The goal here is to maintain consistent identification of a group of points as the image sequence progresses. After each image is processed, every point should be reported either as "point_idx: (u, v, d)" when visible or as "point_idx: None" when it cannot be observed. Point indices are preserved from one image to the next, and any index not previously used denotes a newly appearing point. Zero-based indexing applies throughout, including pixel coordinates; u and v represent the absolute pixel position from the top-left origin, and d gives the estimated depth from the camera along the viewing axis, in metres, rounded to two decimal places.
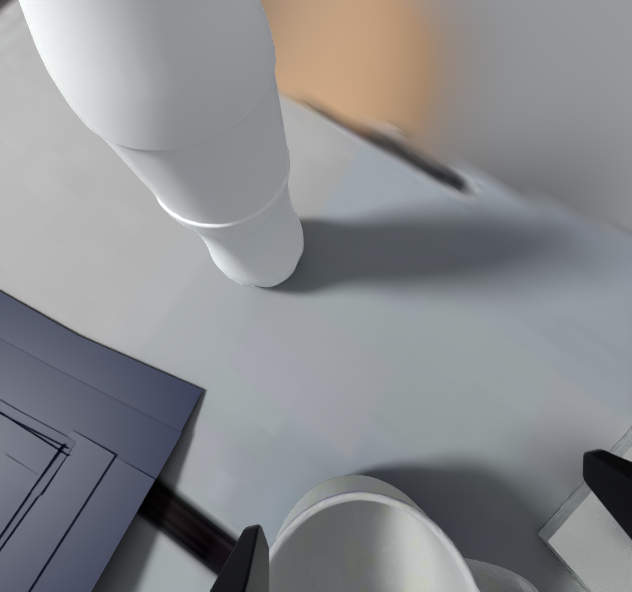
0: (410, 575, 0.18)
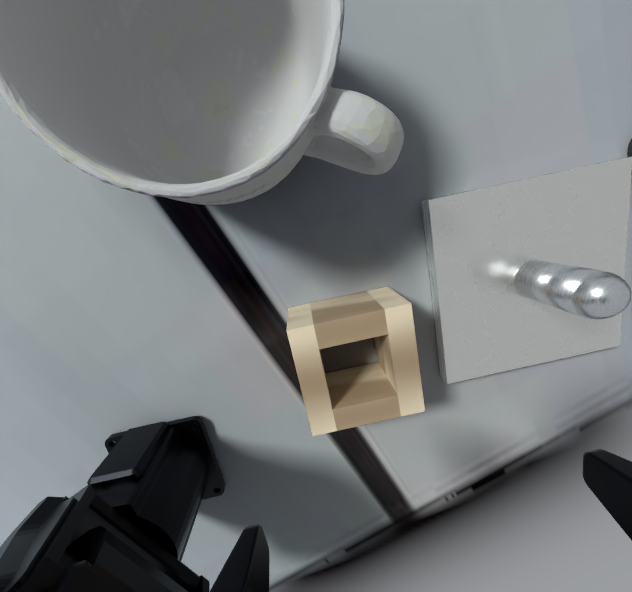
0: (271, 146, 0.15)
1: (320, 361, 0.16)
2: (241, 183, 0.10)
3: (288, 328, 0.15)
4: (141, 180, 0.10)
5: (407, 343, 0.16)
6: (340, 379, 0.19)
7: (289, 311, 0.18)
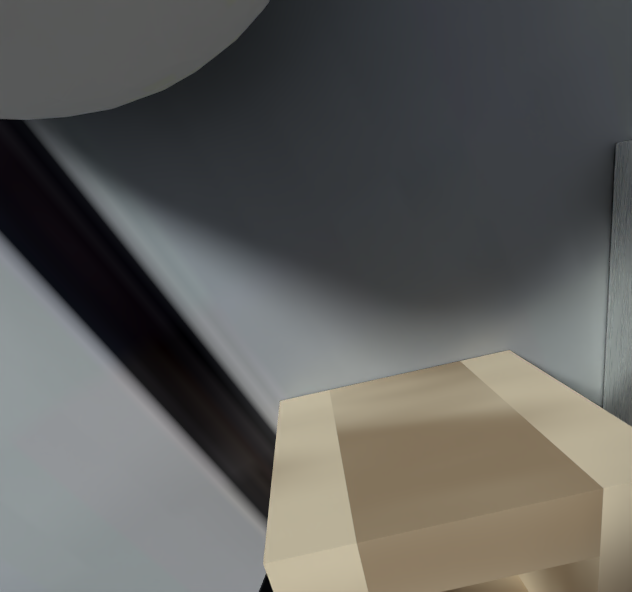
0: None
1: None
2: None
3: (271, 545, 0.05)
4: None
5: None
6: None
7: (281, 420, 0.07)
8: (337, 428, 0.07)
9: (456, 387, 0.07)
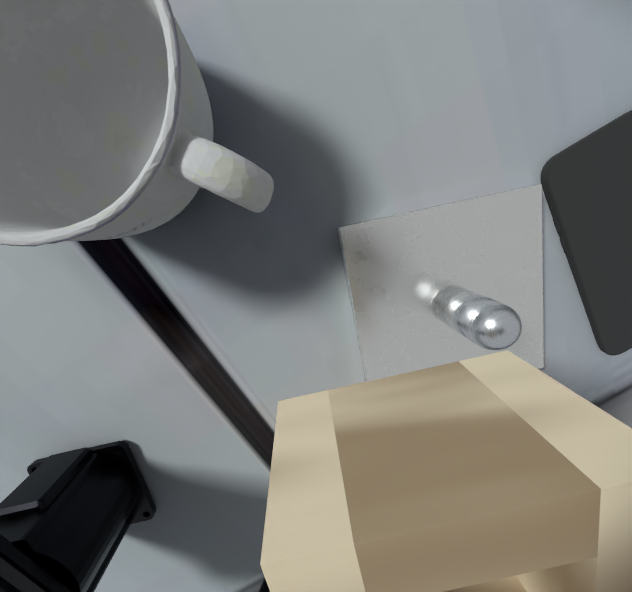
0: None
1: None
2: (89, 231, 0.10)
3: (268, 546, 0.05)
4: None
5: None
6: None
7: (279, 420, 0.07)
8: (335, 428, 0.07)
9: (454, 387, 0.07)
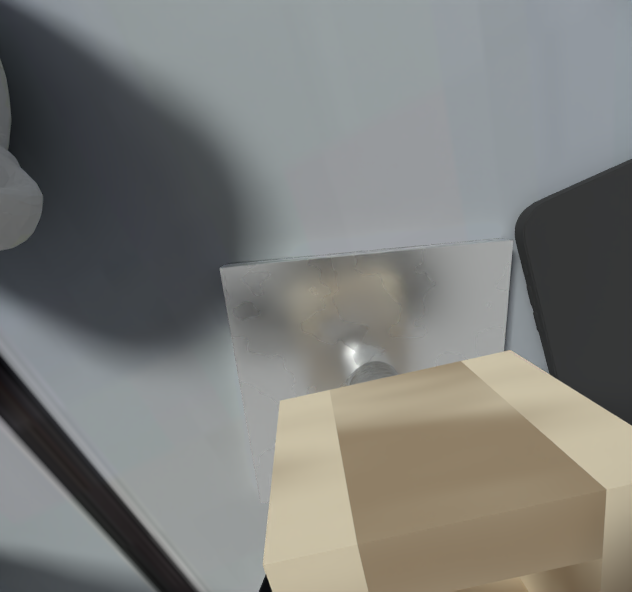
0: None
1: None
2: None
3: (270, 546, 0.05)
4: None
5: None
6: None
7: (281, 420, 0.07)
8: (337, 428, 0.07)
9: (457, 387, 0.07)
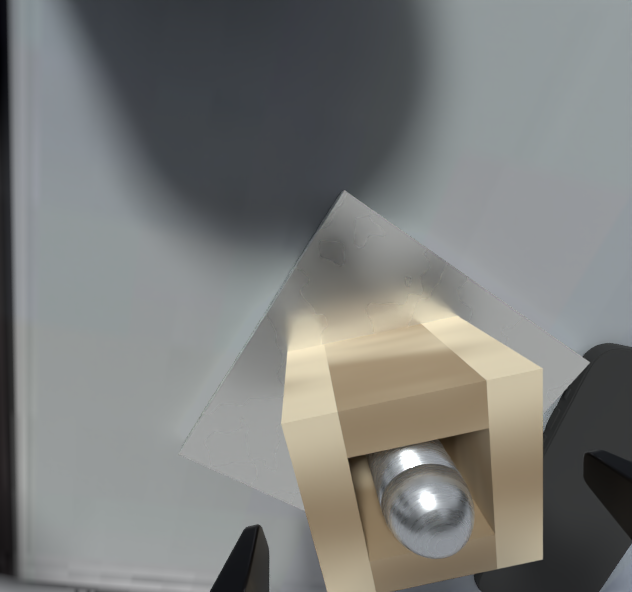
0: None
1: (349, 479, 0.08)
2: None
3: (285, 416, 0.07)
4: None
5: (525, 444, 0.08)
6: None
7: (289, 361, 0.10)
8: (328, 363, 0.10)
9: (414, 338, 0.10)
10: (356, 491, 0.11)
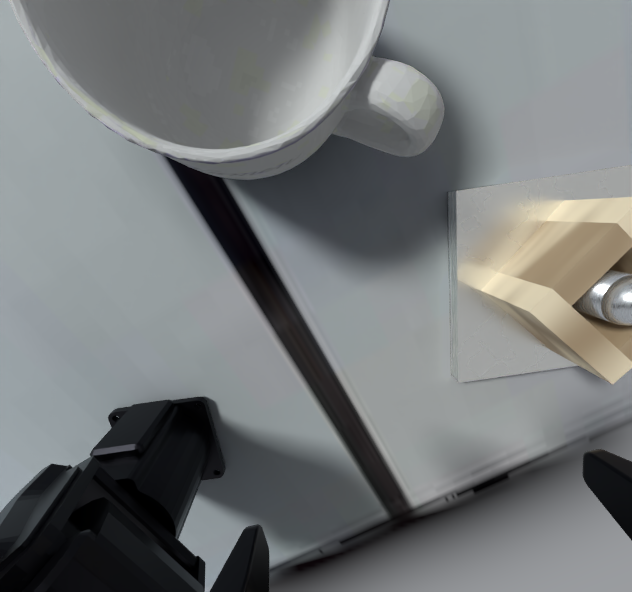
0: (298, 123, 0.15)
1: (579, 315, 0.14)
2: (271, 152, 0.09)
3: (527, 308, 0.14)
4: (167, 142, 0.09)
5: None
6: None
7: (490, 293, 0.17)
8: (516, 277, 0.16)
9: (551, 231, 0.16)
10: None
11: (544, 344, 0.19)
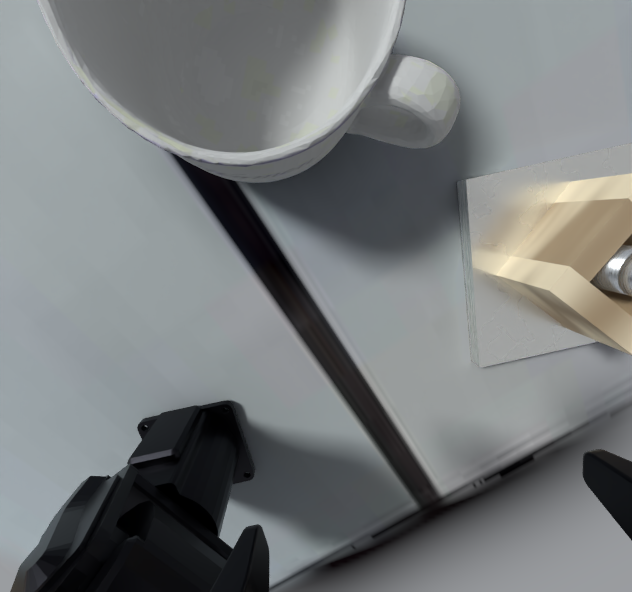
0: (310, 125, 0.15)
1: (597, 290, 0.14)
2: (301, 151, 0.10)
3: (546, 287, 0.14)
4: (201, 148, 0.09)
5: None
6: None
7: (506, 276, 0.17)
8: (531, 259, 0.16)
9: (561, 212, 0.16)
10: None
11: (561, 323, 0.19)
